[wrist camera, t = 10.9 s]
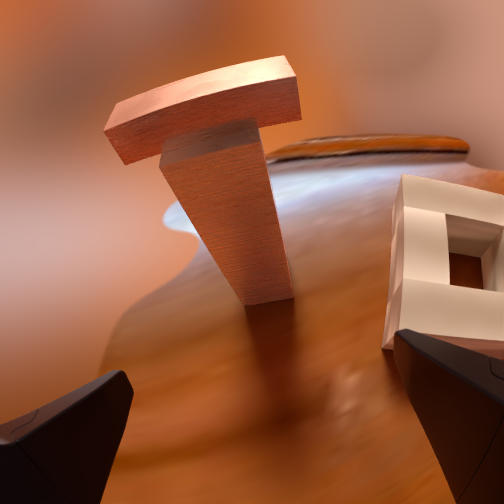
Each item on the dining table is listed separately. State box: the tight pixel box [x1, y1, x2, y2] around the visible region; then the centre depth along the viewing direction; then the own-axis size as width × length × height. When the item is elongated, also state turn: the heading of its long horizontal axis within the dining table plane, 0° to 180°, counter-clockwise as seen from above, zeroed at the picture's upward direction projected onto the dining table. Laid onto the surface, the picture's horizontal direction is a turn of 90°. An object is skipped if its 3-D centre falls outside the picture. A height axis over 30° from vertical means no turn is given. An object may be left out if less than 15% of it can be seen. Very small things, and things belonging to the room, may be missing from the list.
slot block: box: [382, 174, 504, 359], centre depth 15 cm, size 10×10×4 cm
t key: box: [103, 56, 302, 306], centre depth 14 cm, size 6×3×14 cm, turn 96°
